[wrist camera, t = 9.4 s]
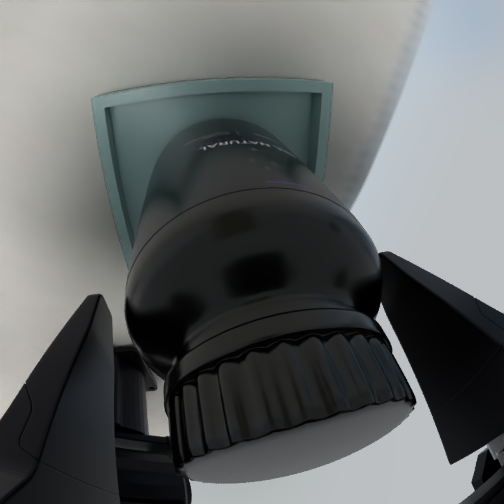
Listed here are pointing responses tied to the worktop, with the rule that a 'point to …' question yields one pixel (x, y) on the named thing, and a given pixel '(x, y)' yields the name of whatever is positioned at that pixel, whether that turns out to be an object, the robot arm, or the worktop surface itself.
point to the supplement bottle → (258, 310)
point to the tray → (194, 112)
